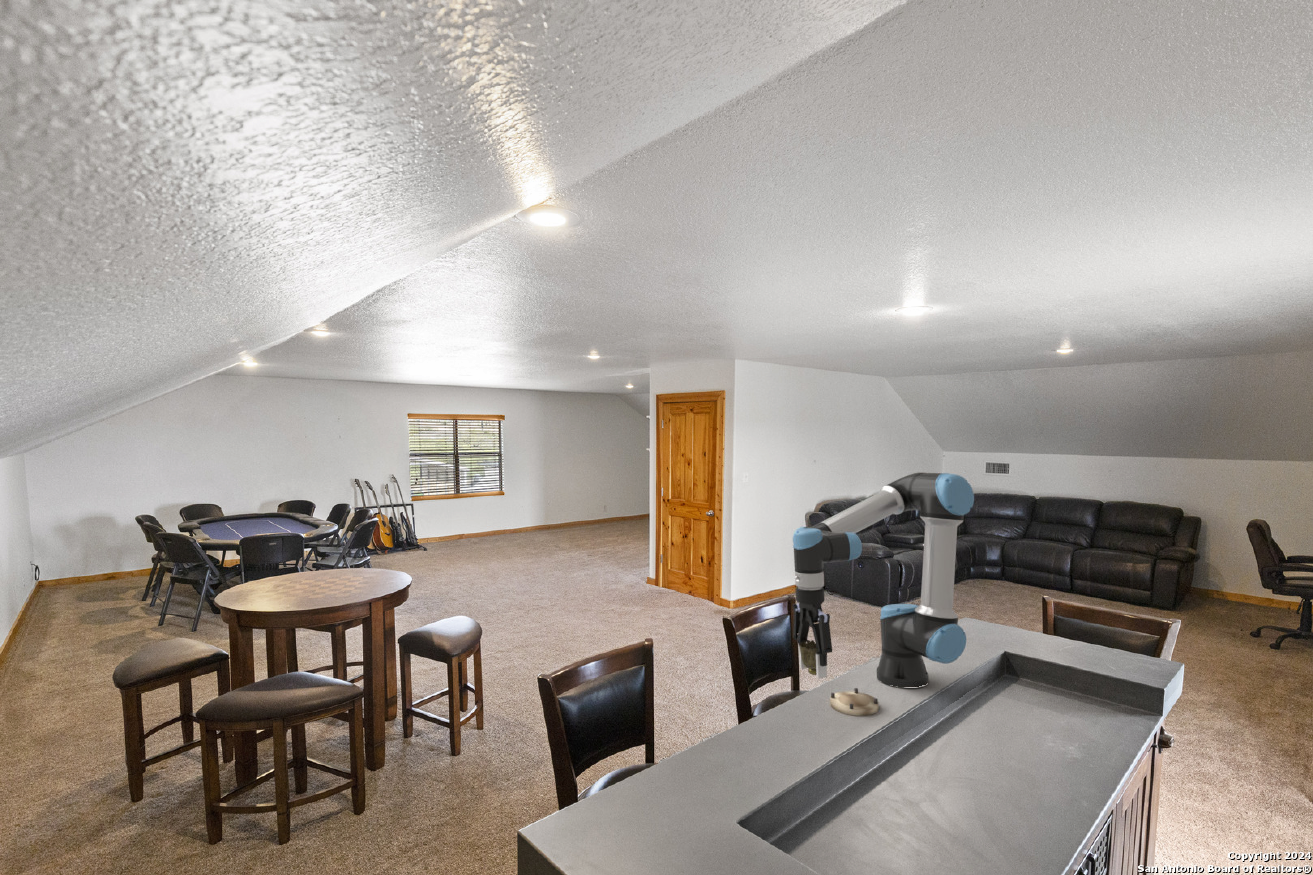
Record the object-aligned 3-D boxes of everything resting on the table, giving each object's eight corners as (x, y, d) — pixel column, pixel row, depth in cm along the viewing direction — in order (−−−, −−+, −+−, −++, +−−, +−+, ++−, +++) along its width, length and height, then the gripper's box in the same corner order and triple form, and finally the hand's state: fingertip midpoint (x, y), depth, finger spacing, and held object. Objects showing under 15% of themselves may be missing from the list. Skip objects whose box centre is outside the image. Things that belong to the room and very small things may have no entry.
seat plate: (857, 693, 185) (857, 684, 185) (888, 710, 173) (888, 700, 173) (820, 701, 181) (820, 691, 181) (850, 718, 168) (849, 708, 169)
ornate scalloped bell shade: (832, 677, 164) (830, 646, 165) (804, 679, 164) (802, 648, 165) (825, 668, 172) (823, 638, 172) (798, 669, 172) (796, 640, 172)
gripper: (777, 581, 176) (780, 663, 176) (820, 596, 158) (824, 687, 158) (800, 578, 179) (803, 658, 179) (844, 592, 161) (848, 682, 160)
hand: (813, 672), depth 168 cm, fingers closed on ornate scalloped bell shade, 7 cm apart
